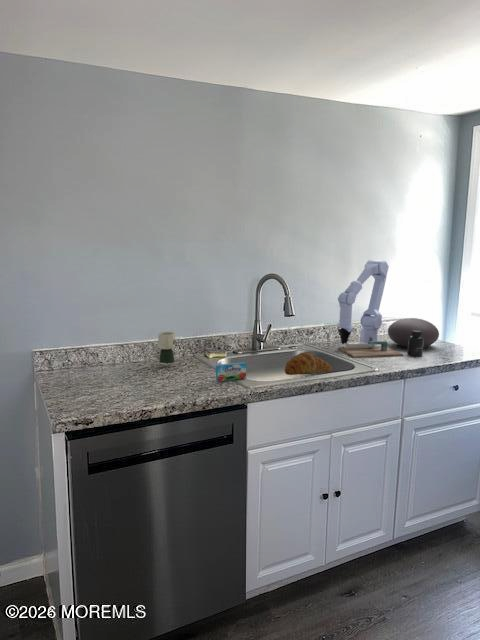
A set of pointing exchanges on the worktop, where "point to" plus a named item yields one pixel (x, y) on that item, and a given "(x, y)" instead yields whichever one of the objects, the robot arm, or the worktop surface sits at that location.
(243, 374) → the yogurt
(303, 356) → the pastry
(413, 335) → the supplement bottle
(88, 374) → the worktop surface
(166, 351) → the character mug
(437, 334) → the smooth stone
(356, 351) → the board
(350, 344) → the link
